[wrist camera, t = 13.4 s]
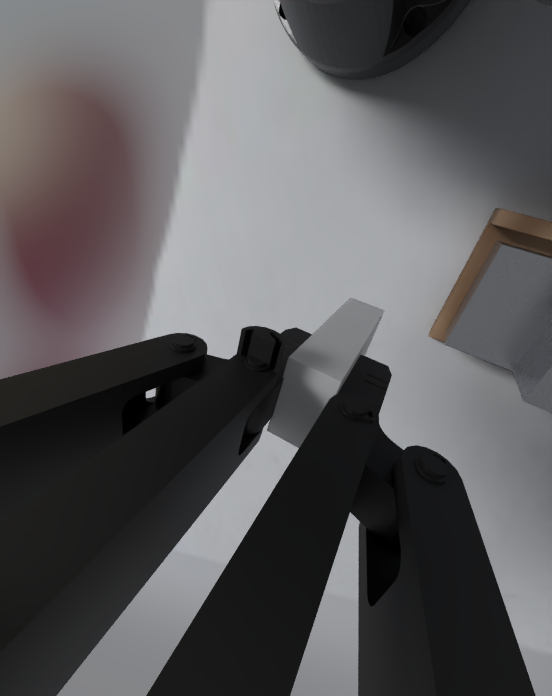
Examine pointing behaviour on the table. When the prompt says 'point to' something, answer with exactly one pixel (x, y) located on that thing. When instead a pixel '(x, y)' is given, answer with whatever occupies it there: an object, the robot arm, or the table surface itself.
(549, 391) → the grey stepped block
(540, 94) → the table surface
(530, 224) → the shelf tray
